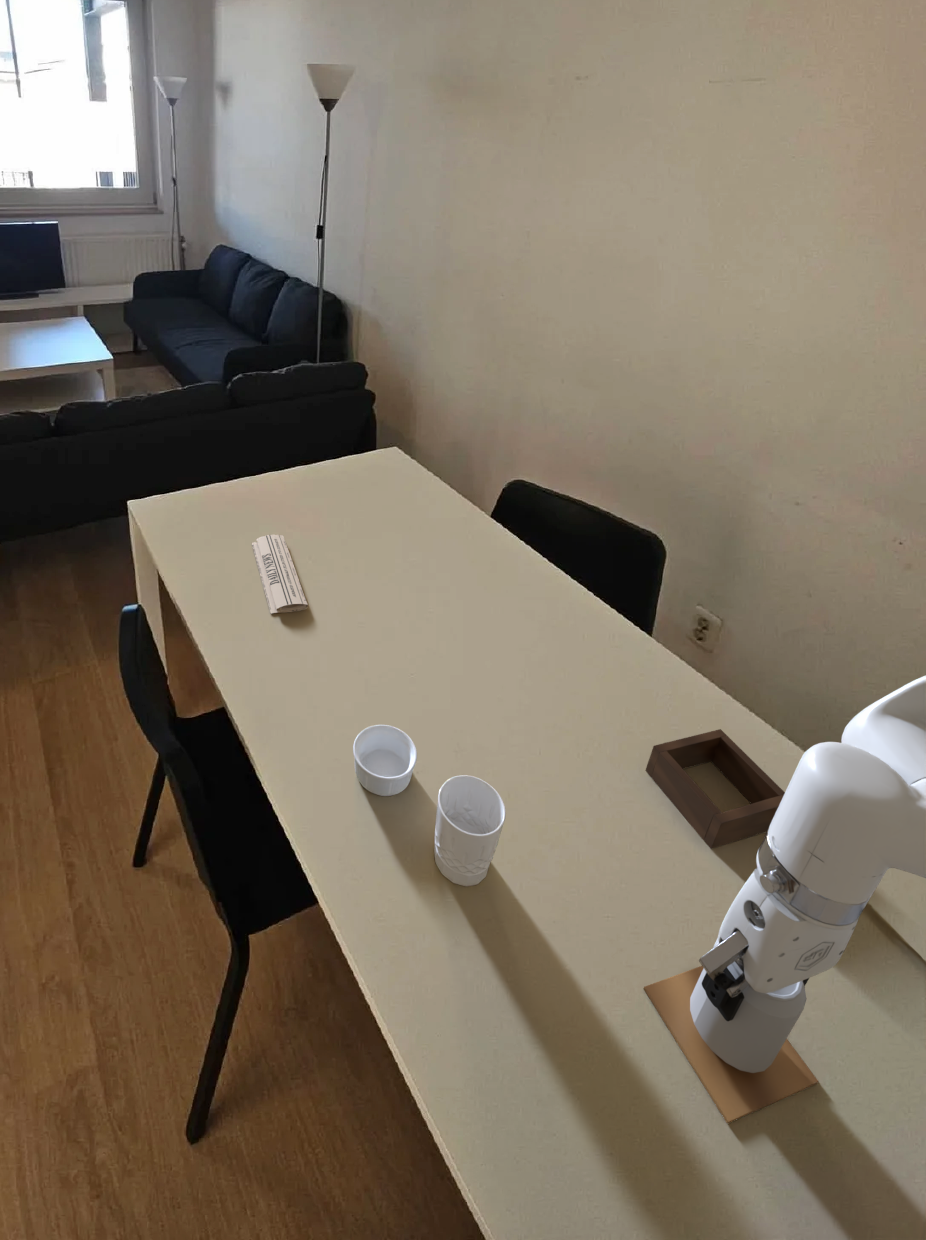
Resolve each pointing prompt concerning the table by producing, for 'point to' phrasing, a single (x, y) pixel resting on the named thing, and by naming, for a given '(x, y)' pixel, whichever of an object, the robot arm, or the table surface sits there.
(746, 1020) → the can
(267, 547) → the newspaper
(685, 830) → the table surface
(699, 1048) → the coaster
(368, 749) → the ramekin
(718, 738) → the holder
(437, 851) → the white cup
